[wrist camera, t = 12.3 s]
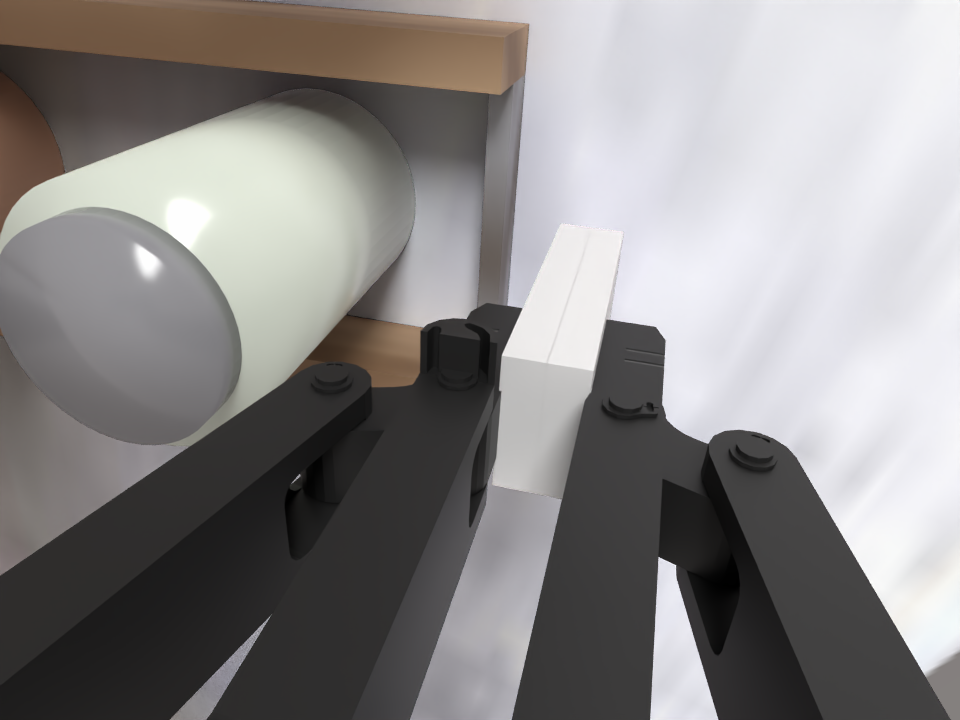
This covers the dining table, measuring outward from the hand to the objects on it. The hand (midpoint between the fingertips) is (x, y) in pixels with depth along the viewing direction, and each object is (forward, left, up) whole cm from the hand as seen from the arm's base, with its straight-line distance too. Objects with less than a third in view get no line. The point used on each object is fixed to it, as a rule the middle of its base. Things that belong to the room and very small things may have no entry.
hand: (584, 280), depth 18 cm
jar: (0, -9, -4) cm, 9 cm away
